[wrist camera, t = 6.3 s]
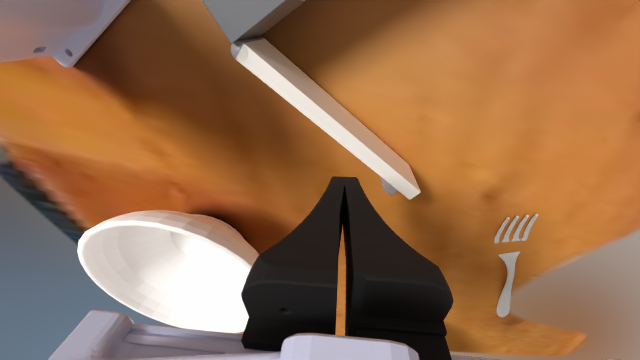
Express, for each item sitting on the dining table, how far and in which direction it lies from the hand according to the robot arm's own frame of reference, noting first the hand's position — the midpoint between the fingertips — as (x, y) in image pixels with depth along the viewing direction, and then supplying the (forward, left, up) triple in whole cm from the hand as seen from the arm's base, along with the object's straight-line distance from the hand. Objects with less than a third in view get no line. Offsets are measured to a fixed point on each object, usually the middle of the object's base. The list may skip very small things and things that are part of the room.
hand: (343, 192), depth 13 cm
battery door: (0, +2, -8) cm, 8 cm away
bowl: (-21, -5, -9) cm, 23 cm away
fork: (+9, -26, -9) cm, 29 cm away
